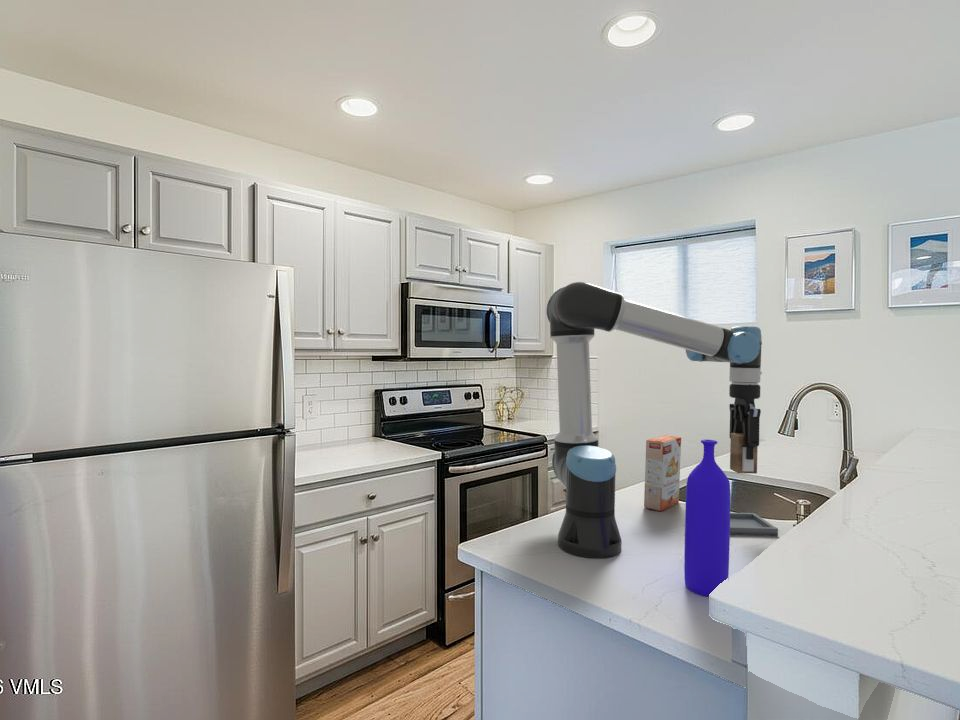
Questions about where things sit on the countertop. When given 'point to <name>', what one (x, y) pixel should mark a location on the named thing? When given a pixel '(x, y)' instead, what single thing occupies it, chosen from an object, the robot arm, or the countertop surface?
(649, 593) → the countertop surface
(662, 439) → the cracker box
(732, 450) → the walnut block
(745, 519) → the slate tray
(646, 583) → the countertop surface
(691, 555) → the bottle
